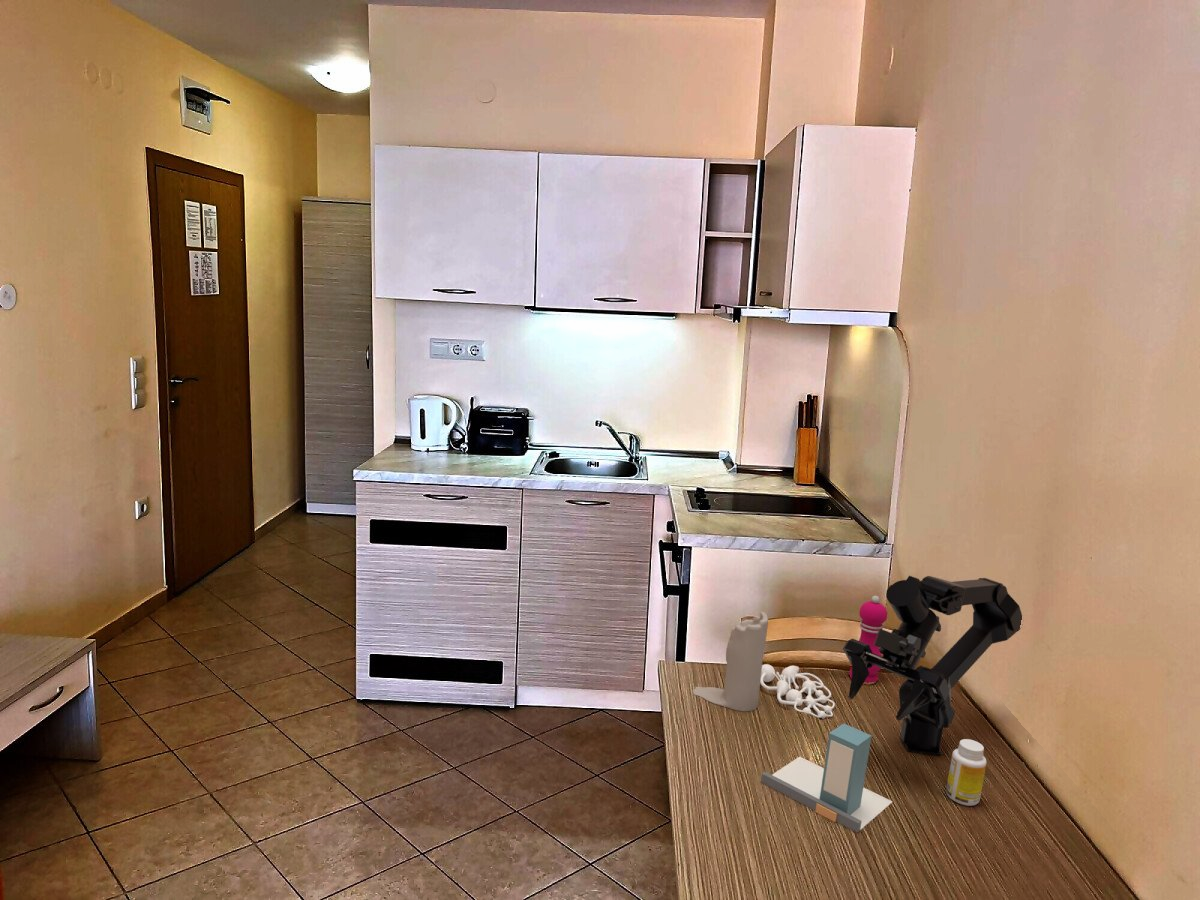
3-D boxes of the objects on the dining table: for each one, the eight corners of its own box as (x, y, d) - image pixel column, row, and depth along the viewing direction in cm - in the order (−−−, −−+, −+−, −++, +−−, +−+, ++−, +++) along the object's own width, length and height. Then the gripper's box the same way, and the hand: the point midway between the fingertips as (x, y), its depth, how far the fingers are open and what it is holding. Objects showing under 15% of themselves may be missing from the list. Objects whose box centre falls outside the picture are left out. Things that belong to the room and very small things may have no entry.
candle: (698, 683, 188) (708, 596, 184) (761, 701, 182) (772, 611, 178) (687, 696, 181) (697, 606, 178) (751, 715, 176) (763, 622, 172)
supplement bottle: (986, 803, 151) (996, 750, 149) (963, 809, 149) (973, 755, 147) (960, 786, 156) (970, 734, 154) (938, 791, 154) (947, 739, 152)
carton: (833, 793, 148) (843, 723, 146) (860, 806, 145) (871, 735, 142) (818, 804, 144) (828, 733, 142) (845, 818, 141) (857, 746, 139)
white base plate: (798, 762, 159) (800, 748, 159) (891, 807, 148) (894, 793, 147) (760, 788, 150) (762, 773, 149) (856, 839, 138) (858, 823, 138)
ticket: (815, 815, 143) (817, 803, 142) (835, 825, 140) (837, 813, 140) (814, 815, 143) (816, 803, 142) (834, 826, 140) (836, 814, 140)
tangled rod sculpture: (851, 725, 178) (856, 707, 177) (789, 723, 174) (793, 704, 173) (806, 679, 197) (811, 662, 196) (749, 676, 192) (753, 659, 192)
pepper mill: (881, 688, 193) (895, 603, 189) (848, 683, 195) (860, 598, 191) (877, 674, 200) (890, 592, 196) (845, 669, 202) (858, 588, 198)
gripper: (855, 596, 160) (814, 666, 155) (953, 631, 147) (912, 709, 142) (870, 627, 167) (832, 695, 162) (965, 663, 154) (927, 738, 149)
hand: (873, 708), depth 153 cm, fingers open, 9 cm apart
